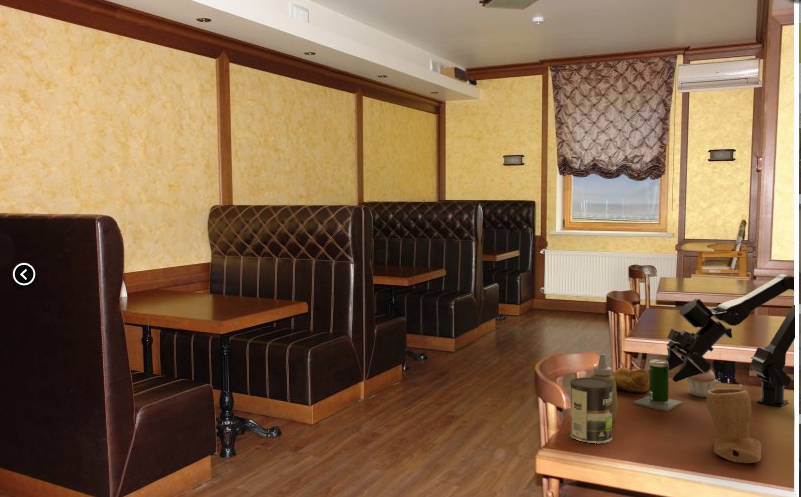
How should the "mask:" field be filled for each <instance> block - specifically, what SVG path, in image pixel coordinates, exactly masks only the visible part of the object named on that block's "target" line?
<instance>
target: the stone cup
mask: <svg viewBox="0 0 801 497" xmlns="http://www.w3.org/2000/svg"><path fill="white" fill-rule="evenodd" d="M750 396H751V395H750V394H749V392H748V391H747V390H746V389H744V388H738V387H731V388H728V387H727V388H726V387H723V388H722V387H719V388H718V387H717V388H715V389H712V390H709V391H708V392H707V394H706V397H705V398H706V405H707V410H708V412H709V415H710V417H711V420H712V423H713V425H714V428H715V430H716V438H715V440H714V442H713V452H714V453H715V454H716V455H718V456H719V457H721V458H724V459H726V460H727V461H731V462H733V463H738V464H750V463H752V464H753V463H758V462H759V461H761V458H762V444H761V441H759V440H758V439H757V438H752V437H750V424H751V418H752V402H751V397H750Z"/></svg>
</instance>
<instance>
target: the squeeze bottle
mask: <svg viewBox="0 0 801 497" xmlns="http://www.w3.org/2000/svg"><path fill="white" fill-rule="evenodd" d="M598 359H599V360H598V363H597V365H595V366H594V367H593V374H592V375H590V377H589V378H600V379H604V380H608V381H610V382H612V384H613V387H612V422H613V421H614V420H615V418H616V415H617V413H618V412H617V411H618V409H619V405H618V395H617V394H618V393H617V389H616V382H615V377H614V375H612V370H613V369H612V367H610V366H608V362H607V358H606V354H605V353H600V355H599V358H598Z"/></svg>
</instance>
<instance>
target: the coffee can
mask: <svg viewBox="0 0 801 497" xmlns="http://www.w3.org/2000/svg"><path fill="white" fill-rule="evenodd" d="M569 384H570V438H571V439H573V438H574V439H576V440H579V441H583V442H588V443H587V444H589V443H595V444H594V445H603V444H606V443H607V442H608V443H610V442H611V441H612V440H613V421H612V387H613V384H612V382H610V381H608V380H604V379H600V378H590V377H577V378H573V379H571V380H570V381H569ZM574 439H573V440H574ZM576 440H575V441H576ZM579 441H578V442H579ZM583 442H582V443H583ZM596 443H597V444H596ZM602 443H603V444H602ZM608 443H607V444H608Z"/></svg>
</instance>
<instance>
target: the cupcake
mask: <svg viewBox="0 0 801 497" xmlns="http://www.w3.org/2000/svg"><path fill="white" fill-rule="evenodd" d="M702 372H703V371H702ZM685 381H686V383H687V384H688V389H689V393H690V394H691V396H693V397H698V398H707V397H706V394H707V392H708V391H709V390H712V389H716V388H717V387H716V386H717V385H718V383H719V379H716V375H715V373H714V372H713V370H712V369H710V370H709V371H708V372H707V373H705V372H703V374H698V375H695V376H691V377H688V378H685Z"/></svg>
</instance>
